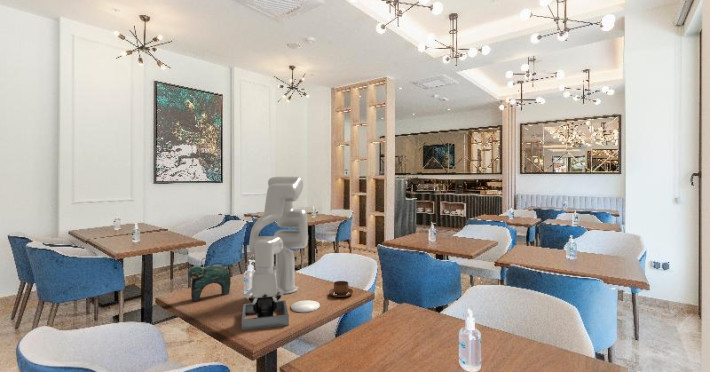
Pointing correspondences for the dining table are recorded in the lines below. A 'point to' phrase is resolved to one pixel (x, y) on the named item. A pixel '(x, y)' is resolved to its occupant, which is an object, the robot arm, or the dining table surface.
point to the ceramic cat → (208, 278)
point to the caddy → (265, 321)
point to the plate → (305, 306)
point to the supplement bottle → (265, 306)
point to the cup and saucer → (341, 289)
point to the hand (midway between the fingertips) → (265, 311)
